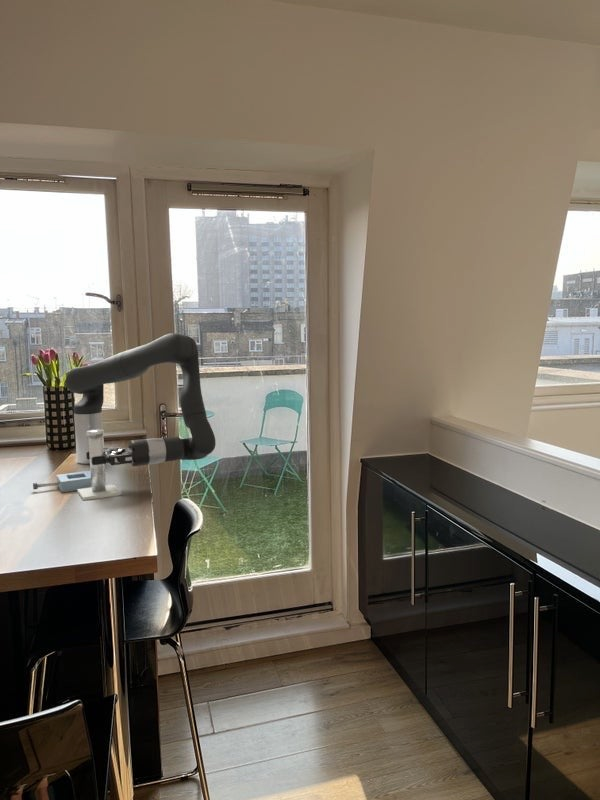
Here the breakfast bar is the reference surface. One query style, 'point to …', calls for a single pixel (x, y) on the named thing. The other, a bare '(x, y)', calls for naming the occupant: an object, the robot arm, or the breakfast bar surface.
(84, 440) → the robot arm
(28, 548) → the breakfast bar surface
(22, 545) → the breakfast bar surface
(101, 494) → the felt pad
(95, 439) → the steel pin
